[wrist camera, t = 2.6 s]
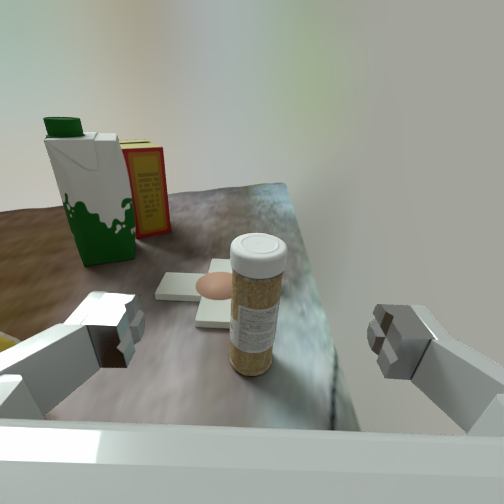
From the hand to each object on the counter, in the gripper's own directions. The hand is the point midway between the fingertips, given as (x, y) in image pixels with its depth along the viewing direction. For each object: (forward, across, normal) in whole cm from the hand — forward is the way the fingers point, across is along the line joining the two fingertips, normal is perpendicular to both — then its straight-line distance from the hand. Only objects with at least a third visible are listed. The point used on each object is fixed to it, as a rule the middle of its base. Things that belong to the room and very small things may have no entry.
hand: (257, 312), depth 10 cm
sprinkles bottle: (+12, 0, +17) cm, 21 cm away
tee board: (+23, +6, +17) cm, 29 cm away
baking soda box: (+43, +21, +17) cm, 51 cm away
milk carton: (+32, +23, +17) cm, 43 cm away
